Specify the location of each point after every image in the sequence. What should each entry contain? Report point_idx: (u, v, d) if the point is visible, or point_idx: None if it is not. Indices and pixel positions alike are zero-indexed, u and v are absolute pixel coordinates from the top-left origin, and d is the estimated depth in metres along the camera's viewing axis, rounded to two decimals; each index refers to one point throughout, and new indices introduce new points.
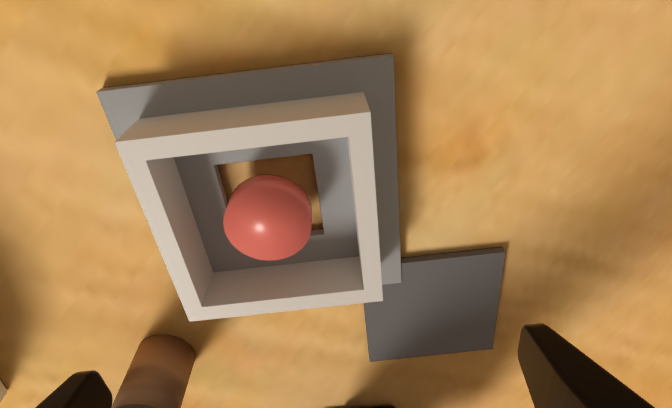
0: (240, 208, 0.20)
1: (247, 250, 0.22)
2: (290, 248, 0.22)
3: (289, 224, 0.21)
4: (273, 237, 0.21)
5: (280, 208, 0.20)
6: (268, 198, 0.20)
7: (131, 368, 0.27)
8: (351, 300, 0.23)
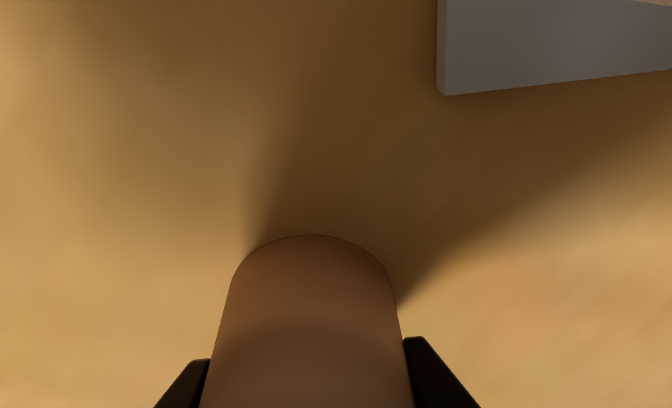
0: None
1: None
2: None
3: None
4: None
5: None
6: None
7: (236, 334, 0.07)
8: None
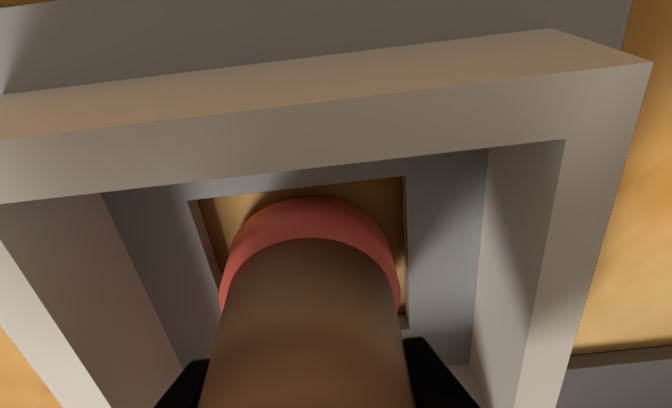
0: None
1: None
2: None
3: None
4: None
5: None
6: None
7: (234, 338, 0.07)
8: None
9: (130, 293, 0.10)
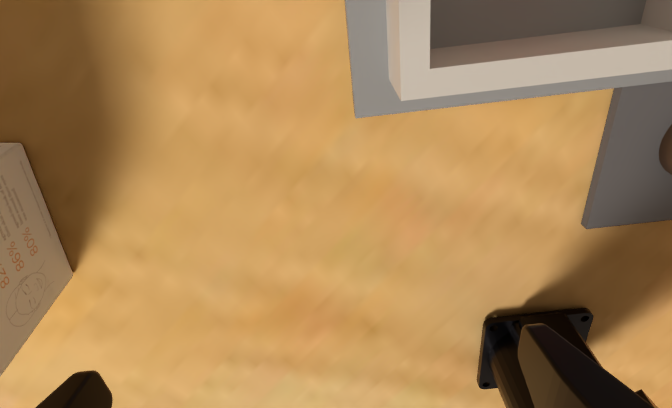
0: None
1: None
2: None
3: None
4: None
5: None
6: None
7: None
8: (668, 61, 0.14)
9: None
